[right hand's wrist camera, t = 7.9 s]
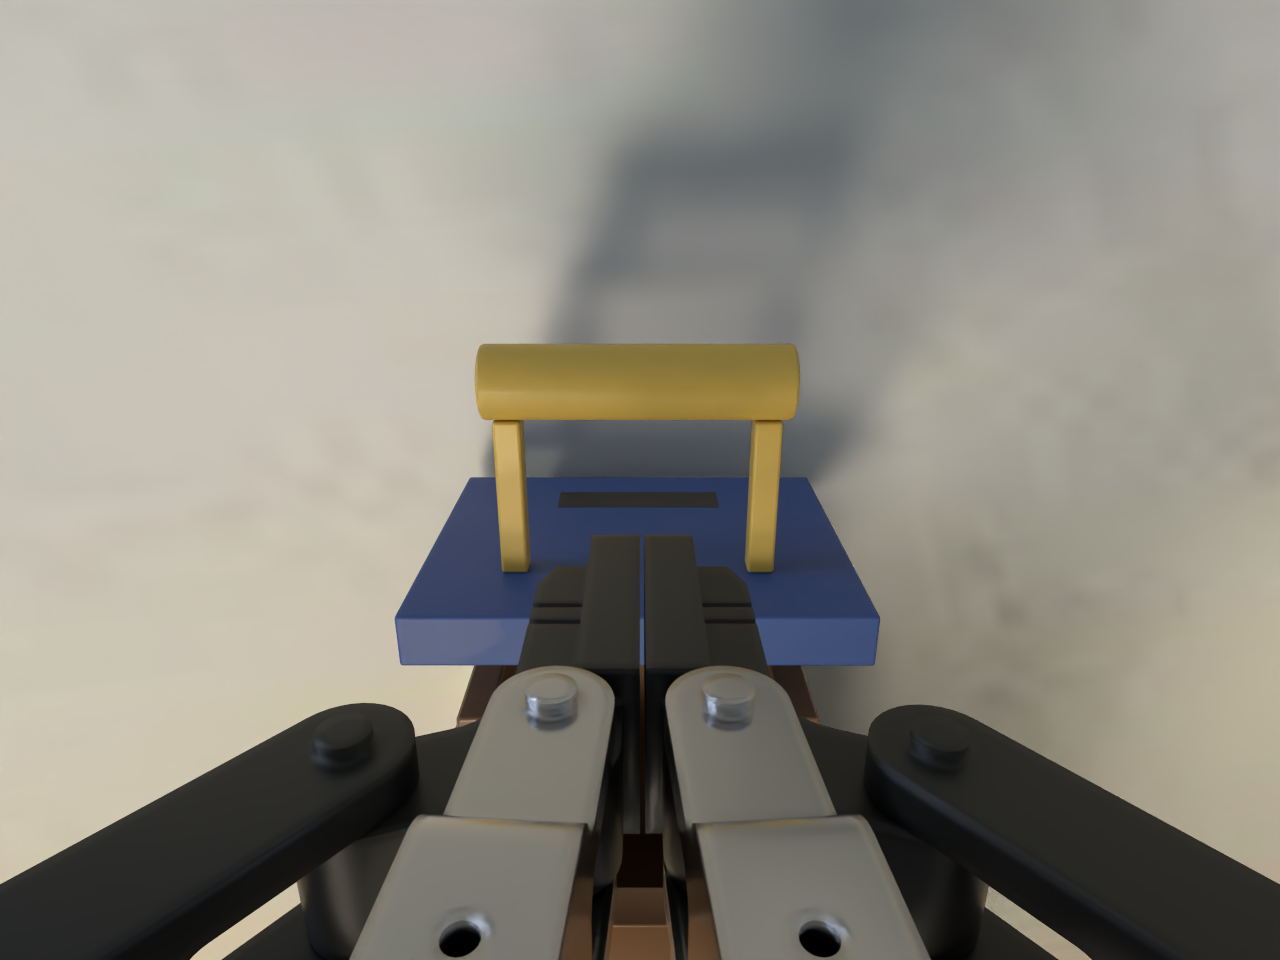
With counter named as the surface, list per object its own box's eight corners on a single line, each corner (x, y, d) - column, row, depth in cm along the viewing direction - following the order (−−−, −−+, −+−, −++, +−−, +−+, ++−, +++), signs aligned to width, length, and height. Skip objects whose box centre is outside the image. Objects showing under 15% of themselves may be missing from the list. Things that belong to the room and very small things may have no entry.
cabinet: (474, 667, 28) (389, 925, 19) (803, 667, 28) (886, 925, 19) (500, 977, 33) (445, 1298, 24) (776, 977, 33) (830, 1299, 24)
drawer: (455, 300, 23) (362, 369, 15) (821, 299, 23) (911, 369, 15) (497, 828, 29) (448, 1059, 22) (779, 828, 29) (827, 1059, 22)
